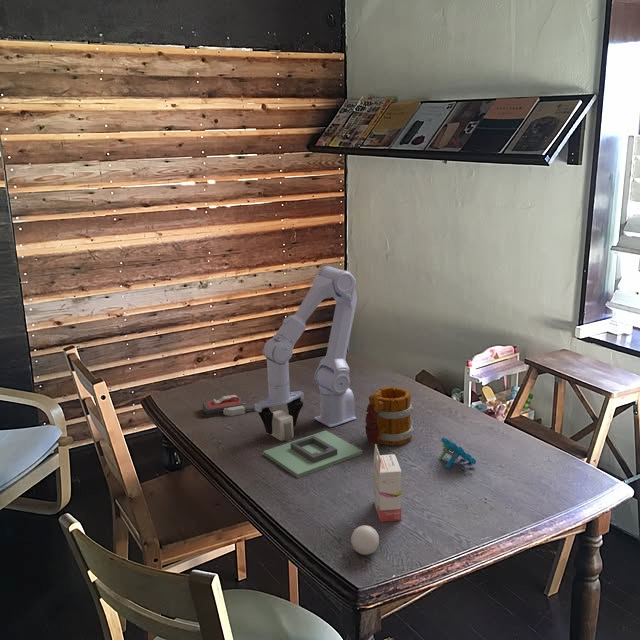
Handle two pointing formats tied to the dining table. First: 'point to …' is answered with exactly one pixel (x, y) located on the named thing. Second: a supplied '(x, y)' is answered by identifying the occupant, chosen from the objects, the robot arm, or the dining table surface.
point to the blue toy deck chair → (457, 452)
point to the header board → (312, 453)
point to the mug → (389, 417)
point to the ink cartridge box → (387, 486)
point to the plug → (282, 426)
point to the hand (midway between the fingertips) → (280, 429)
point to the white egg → (365, 540)
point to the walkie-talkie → (225, 406)
